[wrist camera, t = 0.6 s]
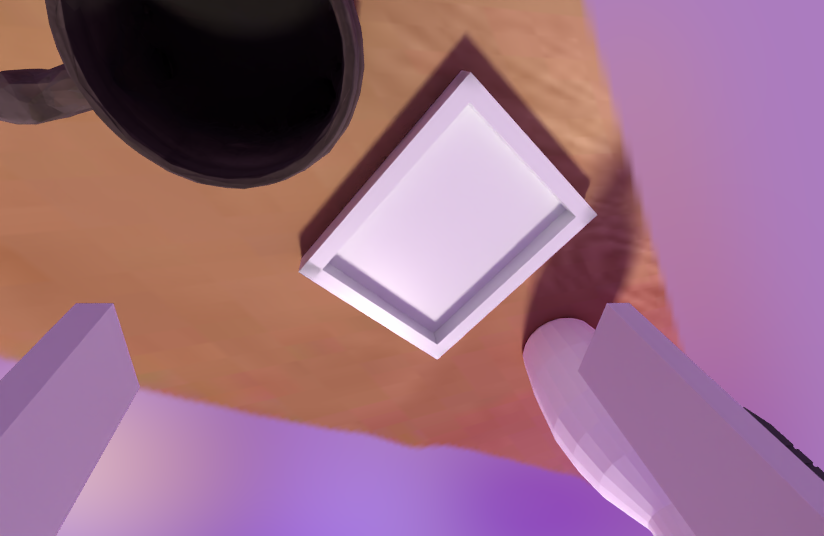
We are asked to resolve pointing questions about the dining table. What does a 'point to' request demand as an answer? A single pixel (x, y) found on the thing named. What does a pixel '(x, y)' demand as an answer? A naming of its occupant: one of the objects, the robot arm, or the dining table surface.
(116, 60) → the beer stein
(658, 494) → the bottle
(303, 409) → the dining table surface
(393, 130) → the dining table surface
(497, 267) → the tray
